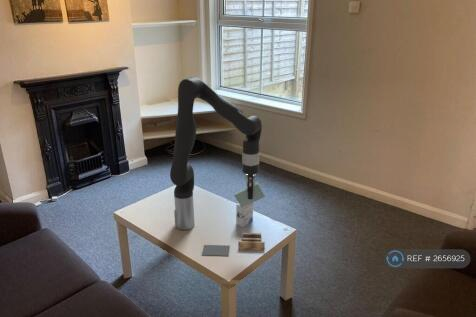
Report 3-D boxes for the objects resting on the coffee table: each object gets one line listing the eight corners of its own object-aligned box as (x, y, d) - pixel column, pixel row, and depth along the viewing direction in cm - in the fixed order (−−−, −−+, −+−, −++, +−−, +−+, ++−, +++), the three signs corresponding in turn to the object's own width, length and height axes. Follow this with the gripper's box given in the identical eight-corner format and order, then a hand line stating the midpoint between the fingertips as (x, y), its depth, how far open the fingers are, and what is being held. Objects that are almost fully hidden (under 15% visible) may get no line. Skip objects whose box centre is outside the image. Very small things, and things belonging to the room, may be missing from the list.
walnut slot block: (241, 243, 178) (241, 239, 177) (242, 237, 184) (242, 232, 183) (261, 244, 178) (261, 239, 177) (261, 237, 183) (261, 233, 182)
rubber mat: (201, 255, 170) (201, 254, 170) (204, 245, 177) (204, 244, 177) (228, 256, 169) (228, 255, 169) (229, 246, 177) (229, 245, 176)
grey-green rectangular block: (234, 195, 171) (257, 184, 169) (234, 193, 174) (257, 181, 171) (241, 207, 173) (265, 196, 171) (241, 205, 176) (265, 194, 173)
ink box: (245, 217, 201) (245, 197, 197) (253, 220, 199) (253, 200, 195) (235, 224, 195) (235, 204, 191) (243, 227, 192) (243, 206, 188)
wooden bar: (238, 249, 174) (238, 243, 173) (238, 248, 175) (238, 241, 174) (264, 250, 173) (264, 243, 172) (264, 248, 175) (264, 242, 174)
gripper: (242, 156, 173) (242, 190, 179) (241, 167, 160) (241, 204, 166) (259, 156, 173) (258, 191, 179) (259, 167, 160) (258, 204, 166)
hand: (250, 197), depth 173 cm, fingers closed on grey-green rectangular block, 2 cm apart
